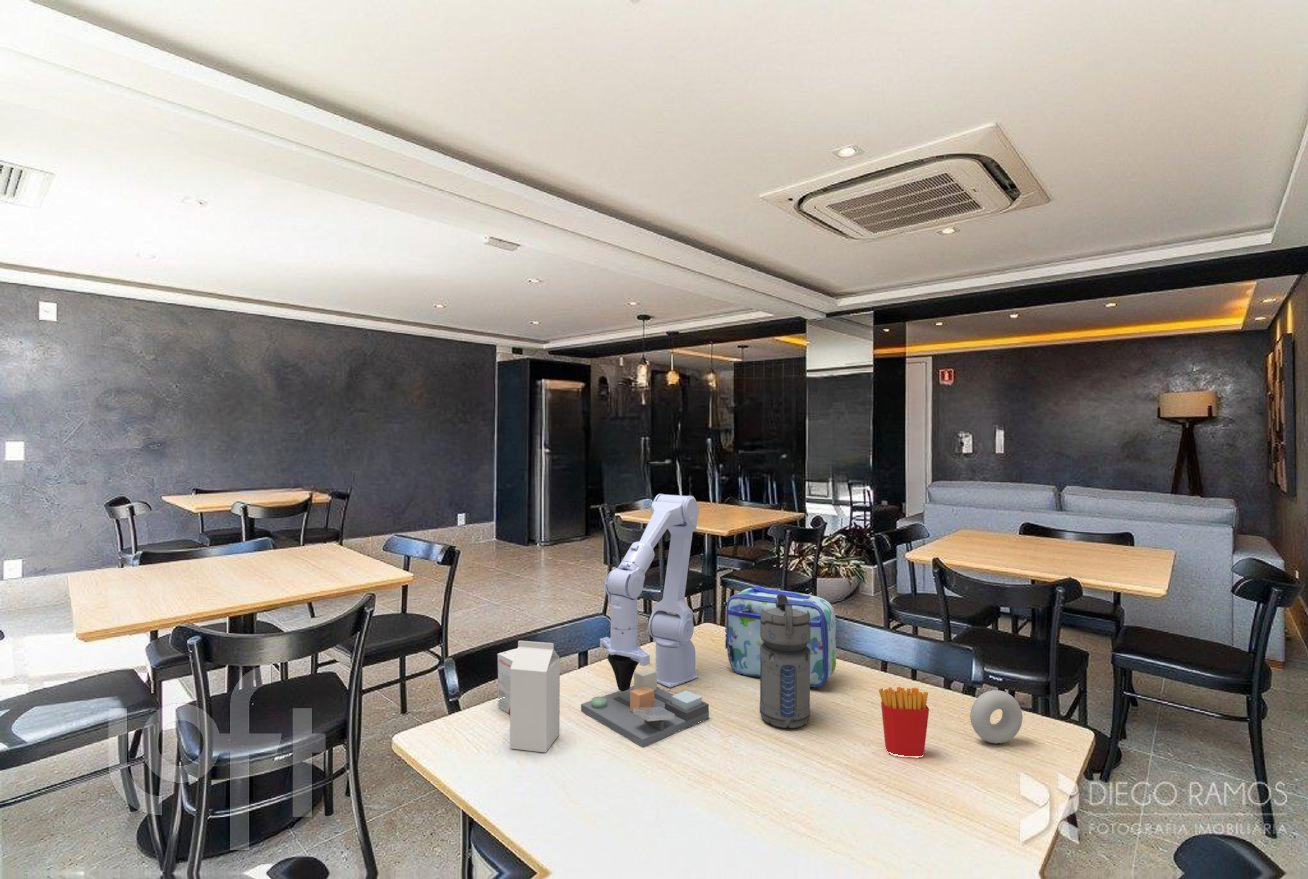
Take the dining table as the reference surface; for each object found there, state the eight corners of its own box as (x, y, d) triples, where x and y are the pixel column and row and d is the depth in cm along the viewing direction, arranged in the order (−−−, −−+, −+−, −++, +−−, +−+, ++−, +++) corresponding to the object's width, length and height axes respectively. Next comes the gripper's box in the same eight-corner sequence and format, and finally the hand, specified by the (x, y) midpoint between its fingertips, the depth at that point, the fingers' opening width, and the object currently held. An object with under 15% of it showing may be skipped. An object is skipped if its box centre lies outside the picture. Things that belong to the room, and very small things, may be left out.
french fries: (923, 748, 114) (924, 684, 114) (930, 759, 110) (931, 693, 110) (876, 745, 115) (877, 682, 115) (881, 756, 111) (882, 690, 111)
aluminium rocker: (658, 711, 123) (659, 706, 123) (673, 719, 119) (674, 713, 120) (632, 713, 118) (633, 707, 118) (647, 721, 115) (648, 715, 115)
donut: (977, 748, 114) (977, 695, 114) (965, 739, 117) (966, 687, 117) (1026, 746, 115) (1027, 693, 115) (1014, 737, 119) (1014, 685, 118)
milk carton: (546, 753, 111) (546, 649, 111) (509, 749, 113) (510, 647, 113) (559, 735, 118) (560, 637, 118) (525, 731, 120) (525, 634, 120)
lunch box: (720, 672, 150) (720, 587, 150) (738, 659, 159) (738, 579, 159) (825, 697, 136) (826, 603, 136) (838, 680, 146) (839, 593, 146)
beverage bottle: (803, 704, 132) (803, 589, 132) (814, 734, 119) (815, 606, 119) (756, 702, 133) (756, 588, 133) (762, 732, 120) (763, 605, 120)
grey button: (686, 697, 129) (686, 690, 129) (701, 704, 125) (701, 697, 125) (671, 703, 126) (671, 696, 126) (686, 711, 122) (686, 703, 122)
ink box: (539, 714, 127) (539, 657, 127) (518, 721, 124) (518, 663, 124) (517, 700, 134) (517, 647, 134) (496, 707, 130) (496, 652, 130)
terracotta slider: (644, 704, 128) (644, 685, 128) (654, 709, 126) (654, 690, 126) (630, 710, 125) (630, 690, 125) (639, 715, 123) (639, 695, 123)
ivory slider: (647, 685, 138) (647, 667, 138) (656, 689, 135) (656, 671, 135) (634, 690, 135) (634, 672, 135) (642, 694, 133) (643, 676, 133)
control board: (645, 688, 141) (645, 674, 141) (709, 718, 126) (709, 703, 126) (581, 711, 129) (581, 696, 129) (643, 747, 114) (643, 730, 114)
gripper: (588, 621, 133) (588, 683, 133) (631, 638, 122) (631, 706, 122) (614, 615, 137) (614, 675, 137) (657, 631, 126) (657, 696, 127)
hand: (624, 689), depth 130 cm, fingers closed
